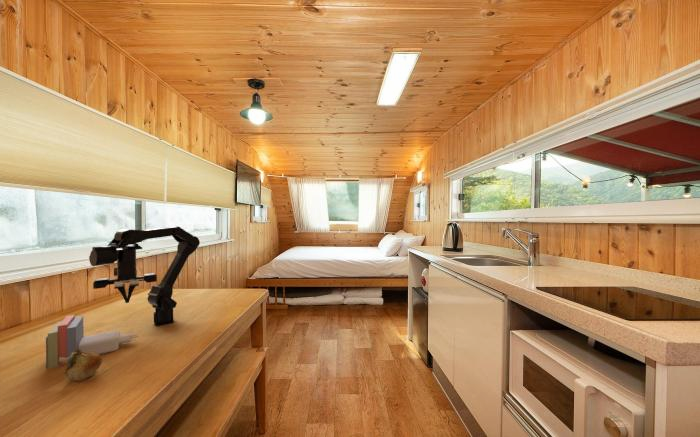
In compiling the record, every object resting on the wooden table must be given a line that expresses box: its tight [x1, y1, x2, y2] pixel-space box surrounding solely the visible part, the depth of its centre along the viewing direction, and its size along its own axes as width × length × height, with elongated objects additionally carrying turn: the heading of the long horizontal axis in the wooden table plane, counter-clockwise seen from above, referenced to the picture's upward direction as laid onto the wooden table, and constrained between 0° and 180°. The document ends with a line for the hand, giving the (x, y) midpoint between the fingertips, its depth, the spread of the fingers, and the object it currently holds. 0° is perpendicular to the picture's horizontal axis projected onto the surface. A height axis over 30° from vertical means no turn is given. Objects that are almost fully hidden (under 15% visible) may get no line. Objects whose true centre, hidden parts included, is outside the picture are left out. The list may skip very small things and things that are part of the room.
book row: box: [45, 314, 85, 369], centre depth 89 cm, size 7×12×12 cm, turn 36°
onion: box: [59, 349, 104, 382], centre depth 77 cm, size 8×8×8 cm
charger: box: [78, 330, 139, 355], centre depth 96 cm, size 5×9×15 cm
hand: (127, 302), depth 107 cm, fingers closed
